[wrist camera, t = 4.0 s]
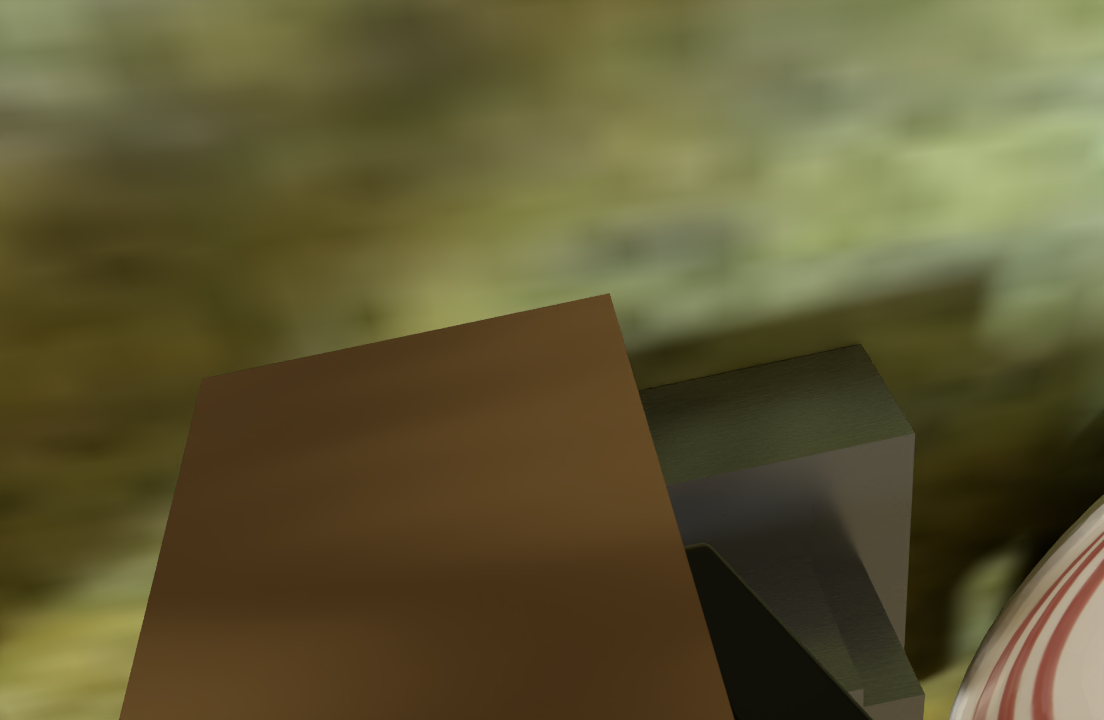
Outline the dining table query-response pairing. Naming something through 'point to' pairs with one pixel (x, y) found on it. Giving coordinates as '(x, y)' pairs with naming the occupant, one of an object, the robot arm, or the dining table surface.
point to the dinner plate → (1046, 638)
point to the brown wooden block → (428, 539)
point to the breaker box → (804, 505)
